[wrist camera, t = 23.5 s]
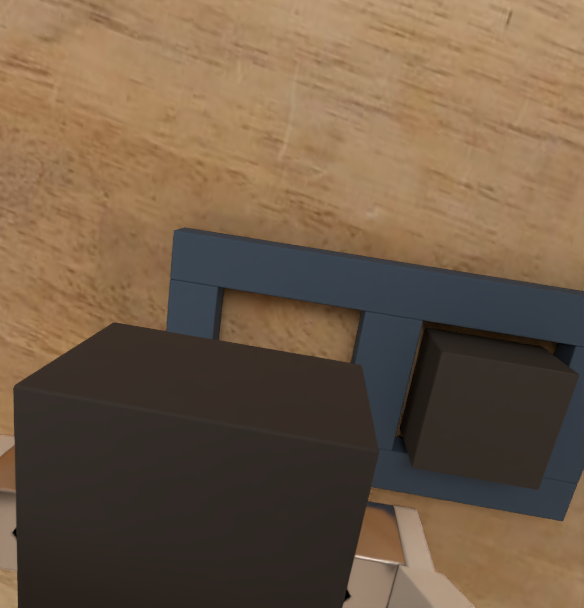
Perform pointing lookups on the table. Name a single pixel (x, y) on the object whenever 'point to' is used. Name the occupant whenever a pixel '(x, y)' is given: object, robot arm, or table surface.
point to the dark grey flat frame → (396, 340)
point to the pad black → (485, 408)
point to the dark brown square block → (189, 475)
